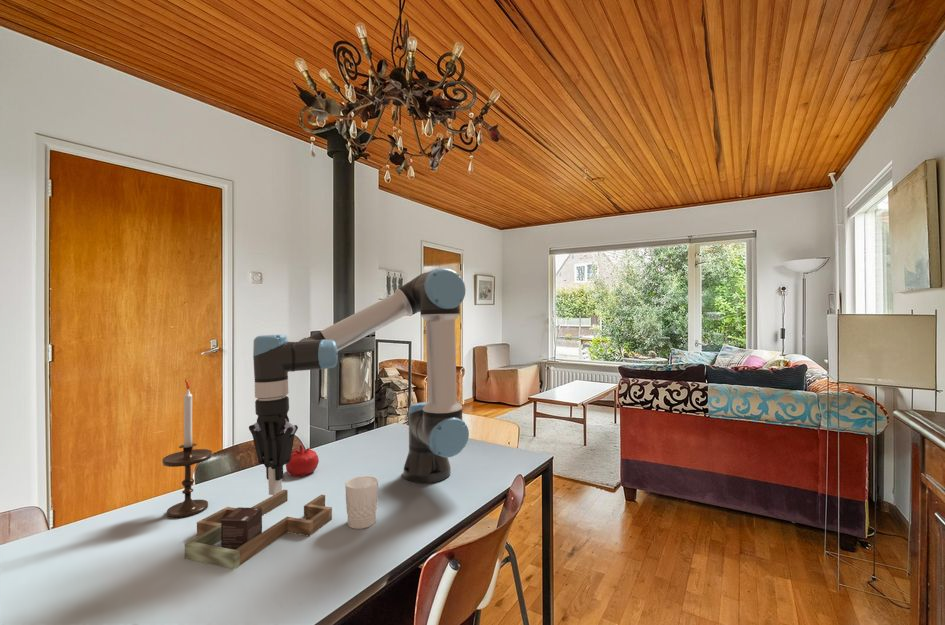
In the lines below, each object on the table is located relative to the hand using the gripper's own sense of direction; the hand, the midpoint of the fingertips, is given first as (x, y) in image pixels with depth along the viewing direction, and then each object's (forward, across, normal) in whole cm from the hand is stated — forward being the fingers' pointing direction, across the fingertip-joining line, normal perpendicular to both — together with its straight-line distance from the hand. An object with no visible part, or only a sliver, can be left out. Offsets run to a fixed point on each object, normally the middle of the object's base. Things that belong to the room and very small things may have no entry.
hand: (275, 492), depth 104 cm
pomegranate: (+8, +17, -30) cm, 35 cm away
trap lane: (+7, +1, +4) cm, 8 cm away
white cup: (+8, -20, -6) cm, 23 cm away
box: (+8, 0, +11) cm, 13 cm away
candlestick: (+7, +28, +1) cm, 29 cm away
